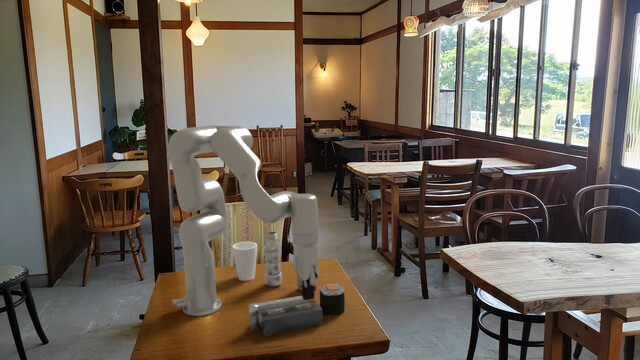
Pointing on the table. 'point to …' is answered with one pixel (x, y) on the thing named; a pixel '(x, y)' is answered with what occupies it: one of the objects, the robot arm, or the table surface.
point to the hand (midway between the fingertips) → (308, 298)
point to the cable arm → (278, 304)
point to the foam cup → (245, 259)
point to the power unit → (287, 319)
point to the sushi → (332, 299)
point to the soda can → (301, 283)
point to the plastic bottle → (272, 260)
